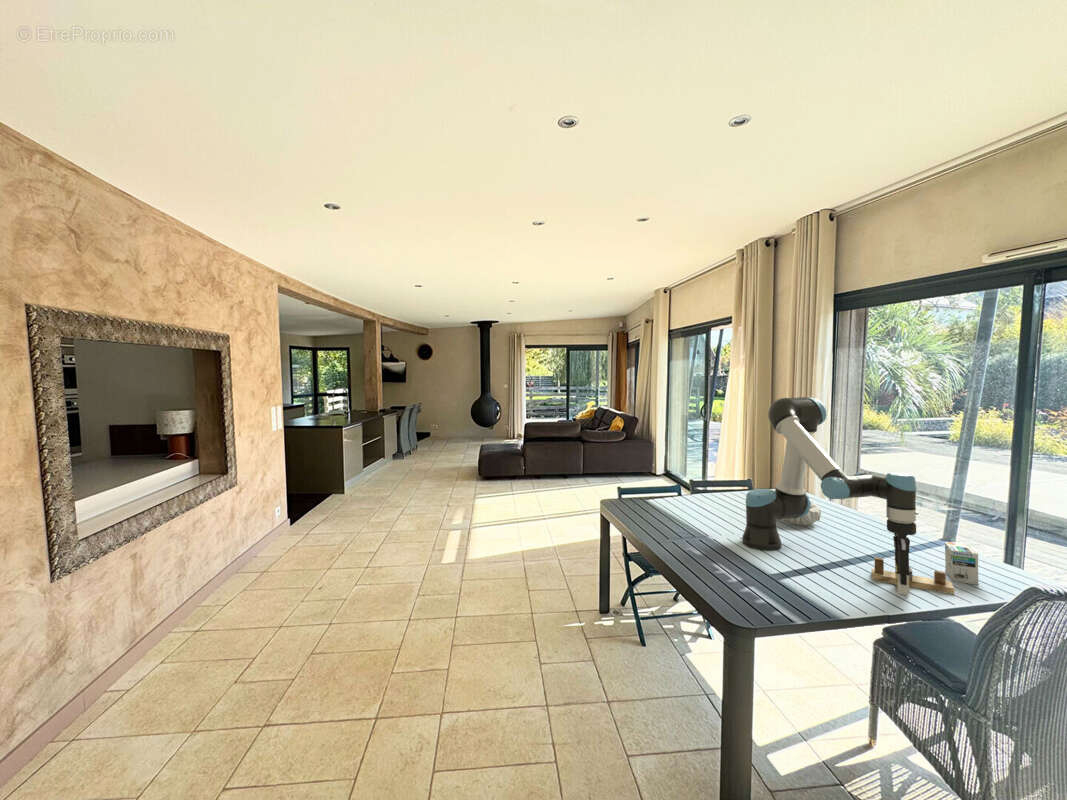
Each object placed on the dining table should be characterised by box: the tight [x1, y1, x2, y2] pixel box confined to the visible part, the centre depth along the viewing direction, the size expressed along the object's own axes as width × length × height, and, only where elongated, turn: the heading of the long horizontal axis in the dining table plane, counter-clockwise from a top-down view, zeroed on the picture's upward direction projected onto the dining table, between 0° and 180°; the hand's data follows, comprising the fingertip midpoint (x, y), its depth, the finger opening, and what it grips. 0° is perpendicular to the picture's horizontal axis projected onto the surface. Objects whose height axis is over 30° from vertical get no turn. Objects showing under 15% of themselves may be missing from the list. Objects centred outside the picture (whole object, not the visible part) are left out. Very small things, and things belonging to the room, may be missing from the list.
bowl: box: [783, 502, 822, 526], centre depth 220 cm, size 21×20×10 cm
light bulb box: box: [944, 541, 979, 586], centre depth 155 cm, size 11×7×11 cm, turn 148°
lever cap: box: [894, 562, 898, 589], centre depth 147 cm, size 3×7×7 cm, turn 145°
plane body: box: [871, 556, 955, 595], centre depth 152 cm, size 21×6×7 cm, turn 55°
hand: (902, 589), depth 147 cm, fingers closed on lever cap, 7 cm apart
